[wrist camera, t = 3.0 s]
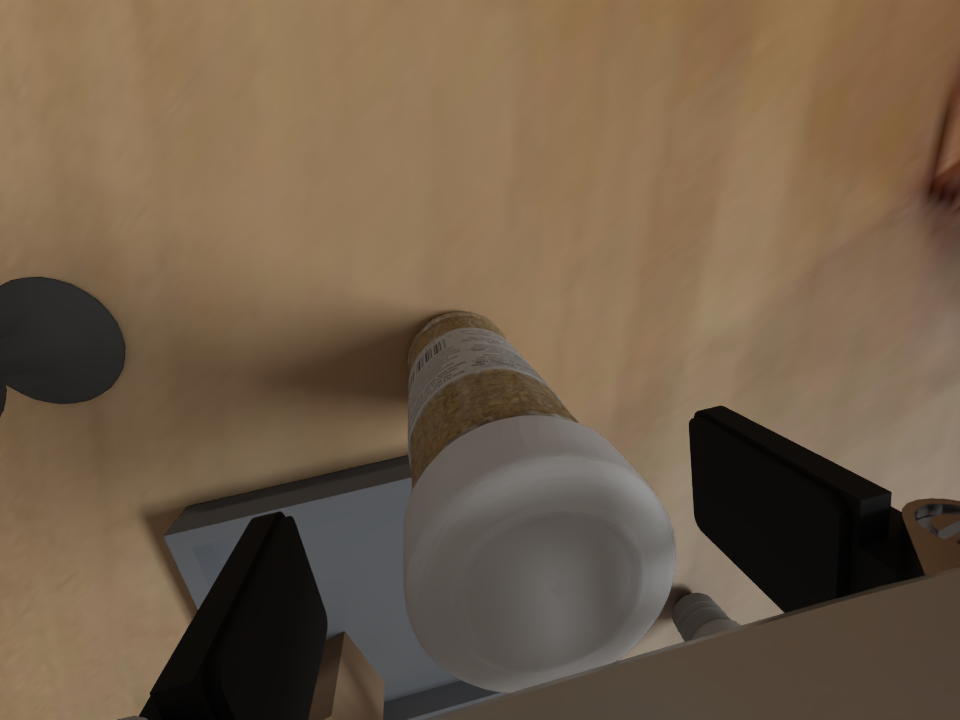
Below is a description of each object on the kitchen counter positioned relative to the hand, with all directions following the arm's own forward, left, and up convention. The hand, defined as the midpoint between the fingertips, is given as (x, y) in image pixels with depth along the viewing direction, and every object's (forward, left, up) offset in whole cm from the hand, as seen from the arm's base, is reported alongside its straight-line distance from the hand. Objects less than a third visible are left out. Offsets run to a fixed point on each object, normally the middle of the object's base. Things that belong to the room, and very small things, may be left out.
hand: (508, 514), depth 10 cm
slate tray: (+10, -6, -10) cm, 16 cm away
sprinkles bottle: (-1, 0, -10) cm, 10 cm away
